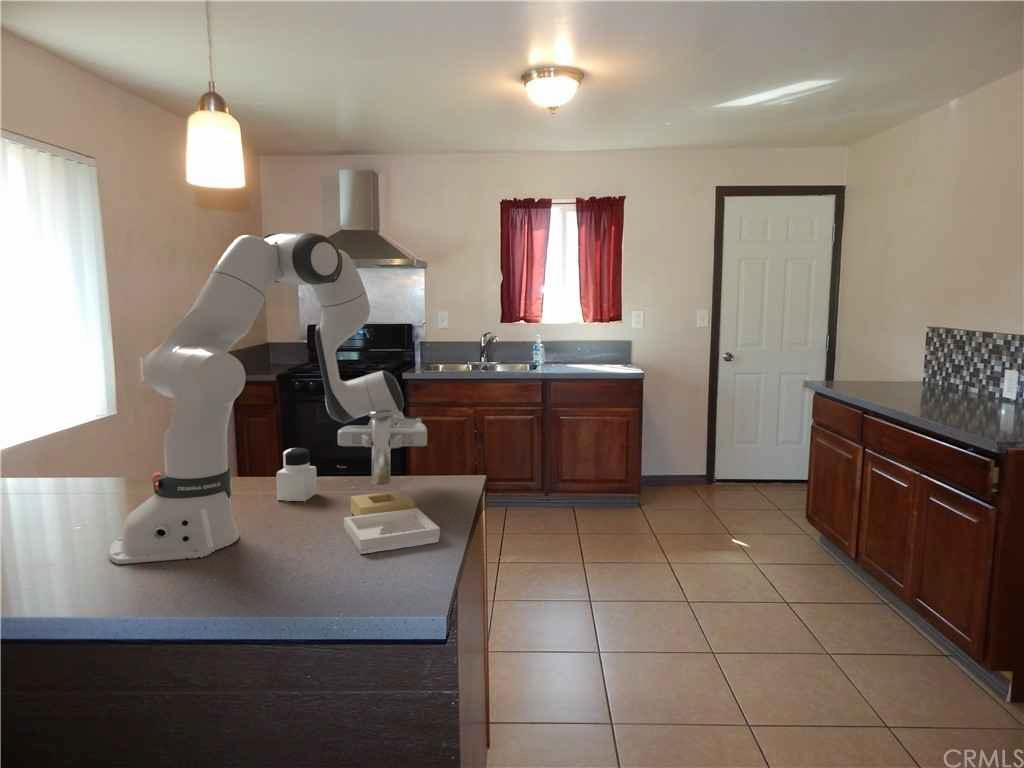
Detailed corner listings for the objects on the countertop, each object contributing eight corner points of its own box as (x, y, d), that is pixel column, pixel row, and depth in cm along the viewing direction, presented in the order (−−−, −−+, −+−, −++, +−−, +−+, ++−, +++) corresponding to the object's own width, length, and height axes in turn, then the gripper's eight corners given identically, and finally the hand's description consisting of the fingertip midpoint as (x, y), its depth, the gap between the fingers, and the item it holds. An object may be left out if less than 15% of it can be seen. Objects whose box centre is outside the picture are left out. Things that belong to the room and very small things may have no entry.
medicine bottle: (317, 494, 162) (316, 446, 161) (305, 502, 155) (304, 453, 154) (289, 492, 163) (288, 445, 161) (276, 501, 156) (275, 452, 154)
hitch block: (360, 525, 140) (360, 507, 140) (350, 513, 148) (350, 496, 147) (414, 518, 145) (414, 501, 145) (402, 506, 153) (401, 490, 153)
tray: (360, 555, 124) (360, 540, 124) (344, 531, 136) (343, 517, 136) (439, 542, 131) (439, 528, 131) (417, 521, 144) (417, 508, 143)
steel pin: (372, 486, 142) (372, 413, 140) (366, 480, 147) (366, 410, 145) (395, 483, 144) (396, 412, 142) (389, 478, 149) (389, 409, 147)
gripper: (341, 417, 156) (332, 429, 142) (427, 418, 158) (427, 429, 144) (341, 443, 156) (332, 457, 143) (427, 443, 159) (426, 457, 145)
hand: (380, 443), depth 144 cm, fingers closed on steel pin, 4 cm apart
